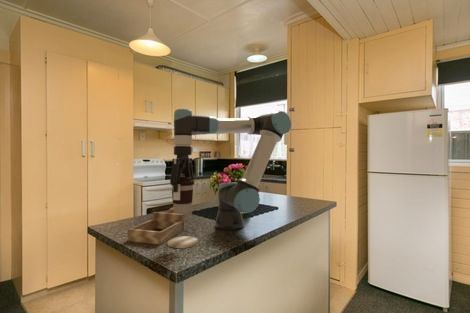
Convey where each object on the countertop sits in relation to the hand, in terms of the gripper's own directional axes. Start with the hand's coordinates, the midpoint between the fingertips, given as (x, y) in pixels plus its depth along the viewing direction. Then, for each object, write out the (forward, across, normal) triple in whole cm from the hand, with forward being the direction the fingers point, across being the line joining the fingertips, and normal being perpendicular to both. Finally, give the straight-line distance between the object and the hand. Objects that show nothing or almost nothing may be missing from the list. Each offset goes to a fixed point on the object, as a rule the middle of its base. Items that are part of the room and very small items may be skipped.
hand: (182, 197), depth 110 cm
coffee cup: (+6, 0, 0) cm, 6 cm away
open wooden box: (+19, -6, -16) cm, 26 cm away
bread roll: (+20, -39, -24) cm, 50 cm away
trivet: (+19, 0, 0) cm, 19 cm away
